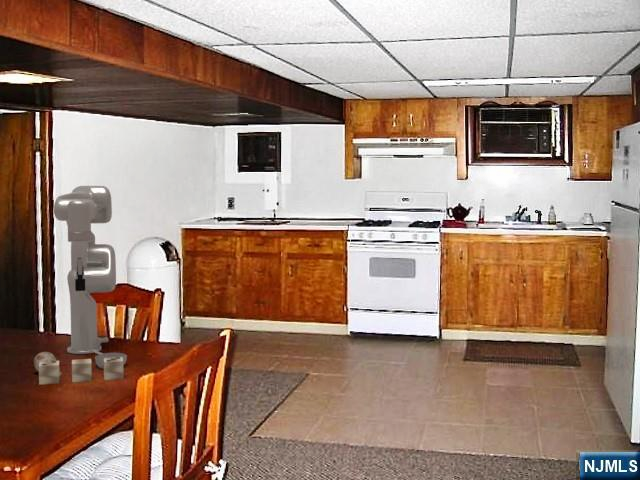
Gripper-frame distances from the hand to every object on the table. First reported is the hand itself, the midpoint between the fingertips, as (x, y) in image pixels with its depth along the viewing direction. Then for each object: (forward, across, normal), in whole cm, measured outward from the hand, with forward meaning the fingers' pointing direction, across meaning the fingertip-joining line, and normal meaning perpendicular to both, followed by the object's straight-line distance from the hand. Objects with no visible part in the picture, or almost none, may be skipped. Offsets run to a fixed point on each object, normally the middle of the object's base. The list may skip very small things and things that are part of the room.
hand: (80, 290), depth 261 cm
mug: (+27, +5, -11) cm, 30 cm away
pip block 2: (+27, +14, +10) cm, 32 cm away
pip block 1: (+27, +14, -10) cm, 32 cm away
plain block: (+27, +14, 0) cm, 31 cm away
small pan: (+28, -4, +8) cm, 29 cm away
